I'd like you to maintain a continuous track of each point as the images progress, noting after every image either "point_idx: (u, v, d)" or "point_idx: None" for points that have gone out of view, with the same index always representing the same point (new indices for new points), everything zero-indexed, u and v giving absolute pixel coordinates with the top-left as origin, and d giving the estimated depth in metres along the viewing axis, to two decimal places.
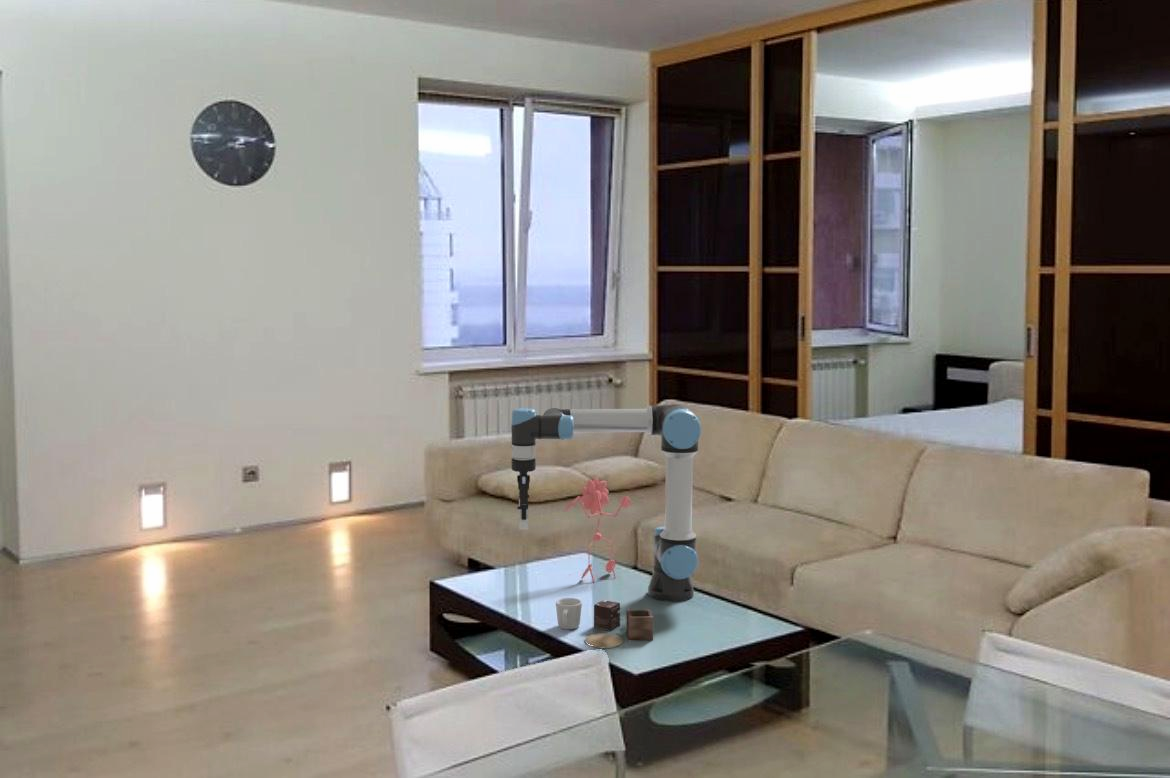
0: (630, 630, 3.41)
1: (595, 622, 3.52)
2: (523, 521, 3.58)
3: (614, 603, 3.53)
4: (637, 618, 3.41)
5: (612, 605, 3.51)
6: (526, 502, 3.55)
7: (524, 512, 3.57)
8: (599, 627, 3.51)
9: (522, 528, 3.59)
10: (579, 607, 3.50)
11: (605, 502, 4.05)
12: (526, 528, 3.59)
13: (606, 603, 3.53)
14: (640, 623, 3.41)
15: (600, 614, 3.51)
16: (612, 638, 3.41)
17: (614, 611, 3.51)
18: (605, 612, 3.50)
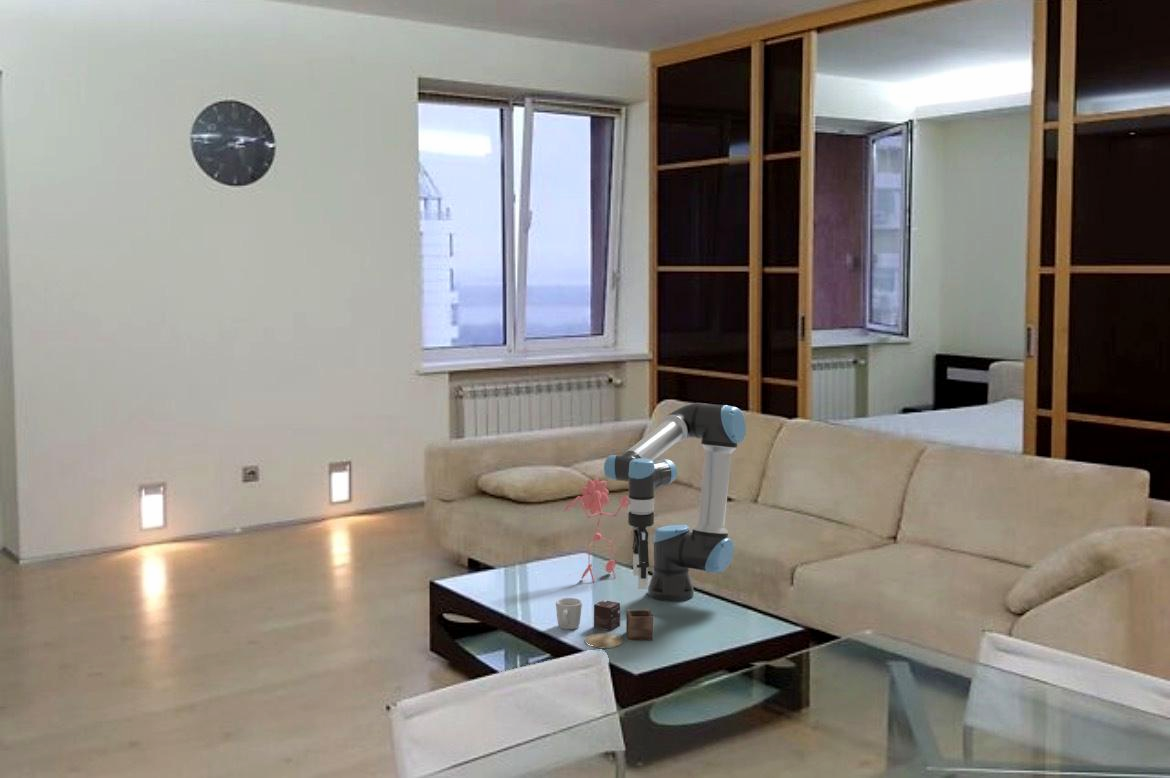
0: (630, 630, 3.41)
1: (595, 622, 3.52)
2: (642, 580, 3.36)
3: (614, 603, 3.53)
4: (637, 618, 3.41)
5: (612, 605, 3.51)
6: (647, 560, 3.33)
7: (644, 570, 3.34)
8: (599, 627, 3.51)
9: (641, 587, 3.36)
10: (579, 607, 3.50)
11: (605, 502, 4.05)
12: (646, 588, 3.36)
13: (606, 603, 3.53)
14: (640, 623, 3.41)
15: (600, 614, 3.51)
16: (612, 638, 3.41)
17: (614, 611, 3.51)
18: (605, 612, 3.50)
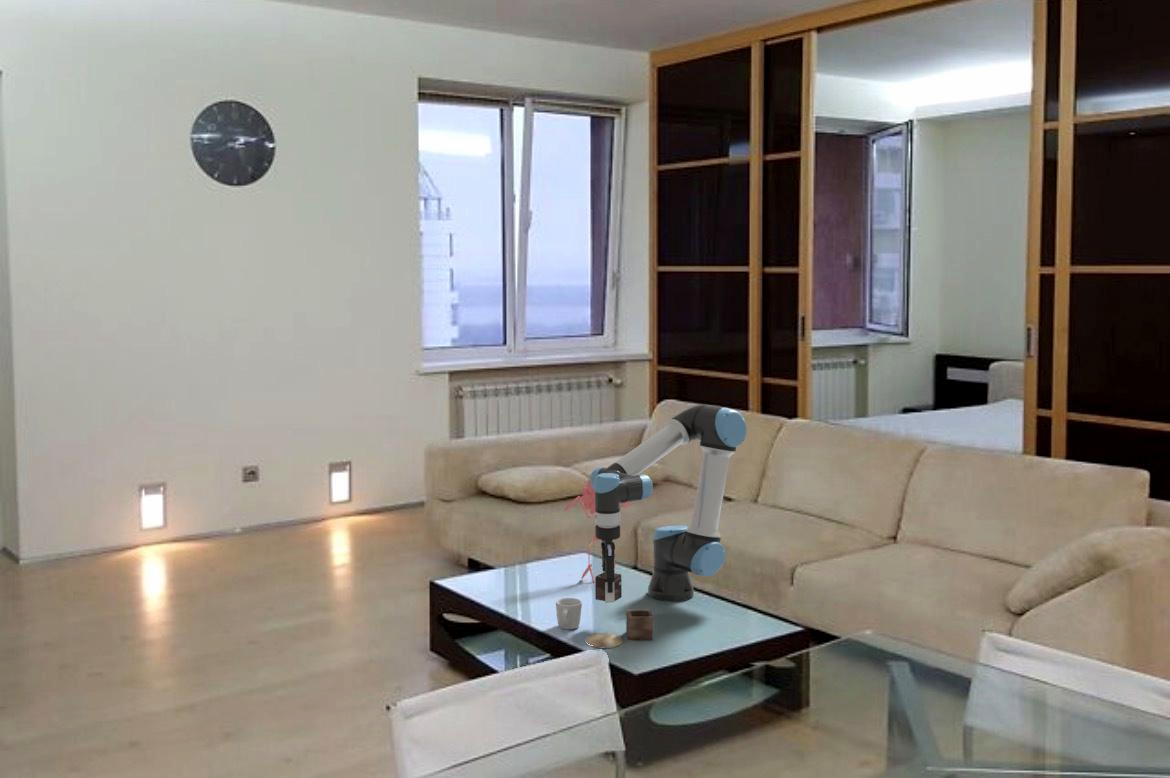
0: (630, 630, 3.41)
1: (597, 594, 3.51)
2: (609, 594, 3.48)
3: (615, 575, 3.52)
4: (637, 618, 3.41)
5: None
6: (613, 576, 3.44)
7: (610, 585, 3.46)
8: (601, 599, 3.51)
9: (608, 601, 3.48)
10: (579, 607, 3.50)
11: None
12: (613, 601, 3.48)
13: None
14: (640, 623, 3.41)
15: (602, 586, 3.50)
16: (612, 638, 3.41)
17: (615, 582, 3.50)
18: None
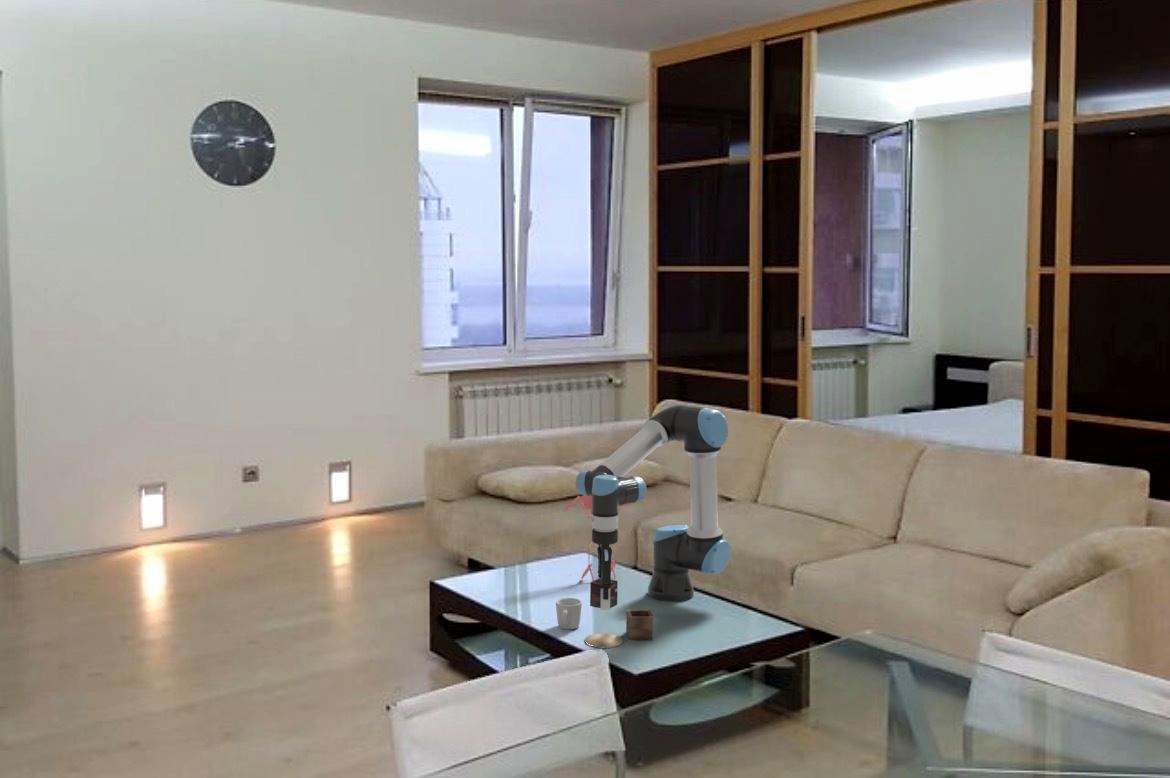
0: (630, 630, 3.41)
1: (591, 600, 3.38)
2: (605, 601, 3.34)
3: (611, 581, 3.38)
4: (637, 618, 3.41)
5: None
6: (609, 582, 3.31)
7: (606, 591, 3.33)
8: (595, 606, 3.37)
9: (604, 608, 3.34)
10: (579, 607, 3.50)
11: None
12: (608, 608, 3.34)
13: None
14: (640, 623, 3.41)
15: (597, 592, 3.36)
16: (612, 638, 3.41)
17: (611, 589, 3.36)
18: None
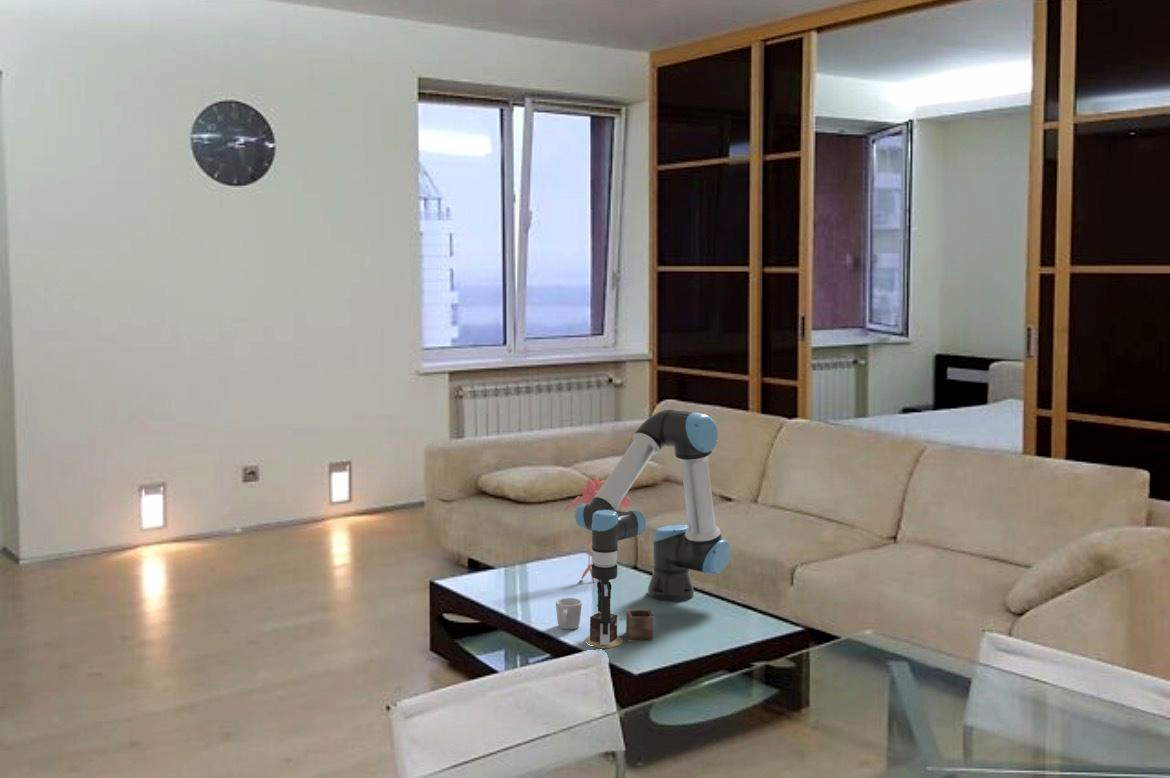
0: (630, 630, 3.41)
1: (591, 635, 3.39)
2: (604, 636, 3.35)
3: (611, 615, 3.40)
4: (637, 618, 3.41)
5: None
6: (608, 617, 3.32)
7: (606, 626, 3.34)
8: (595, 640, 3.38)
9: (603, 643, 3.36)
10: (579, 607, 3.50)
11: None
12: (608, 643, 3.36)
13: None
14: (640, 623, 3.41)
15: (597, 626, 3.38)
16: None
17: (610, 623, 3.38)
18: None
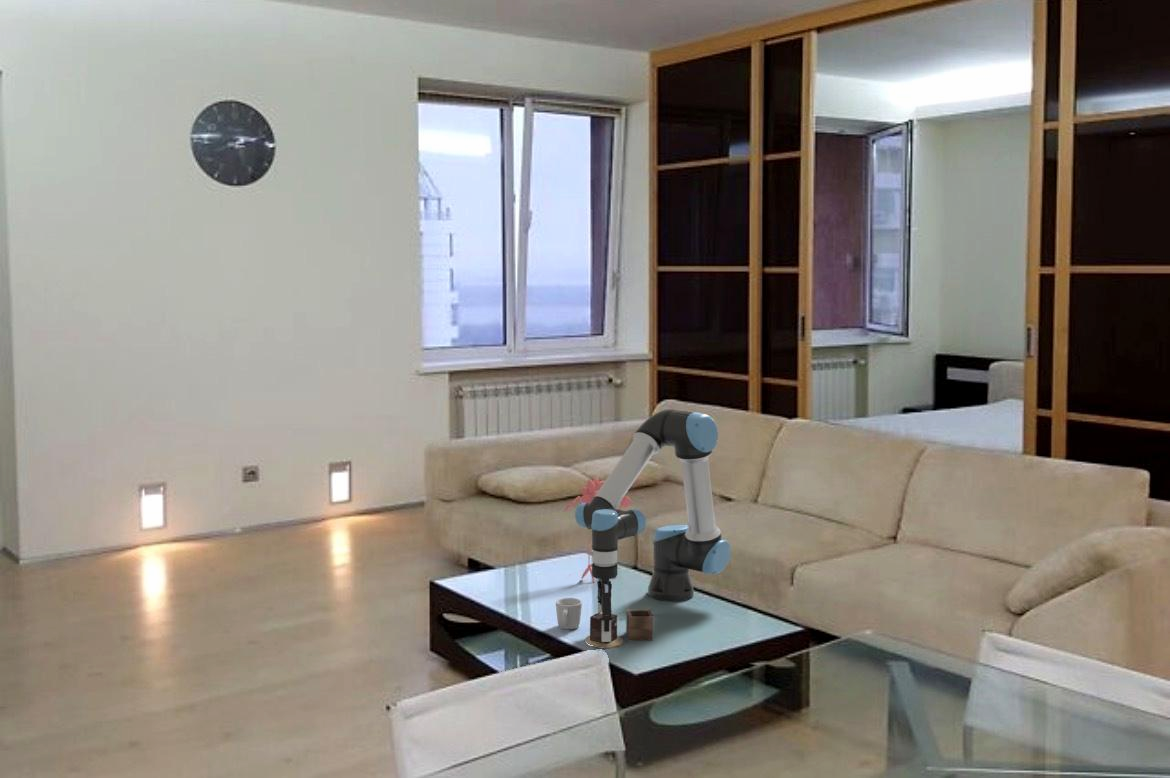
0: (630, 630, 3.41)
1: (591, 635, 3.39)
2: (606, 633, 3.33)
3: None
4: (637, 618, 3.41)
5: None
6: (610, 613, 3.30)
7: (607, 623, 3.31)
8: (595, 640, 3.38)
9: (605, 640, 3.33)
10: (579, 607, 3.50)
11: None
12: (609, 640, 3.33)
13: None
14: (640, 623, 3.41)
15: (597, 626, 3.38)
16: None
17: None
18: (601, 624, 3.37)
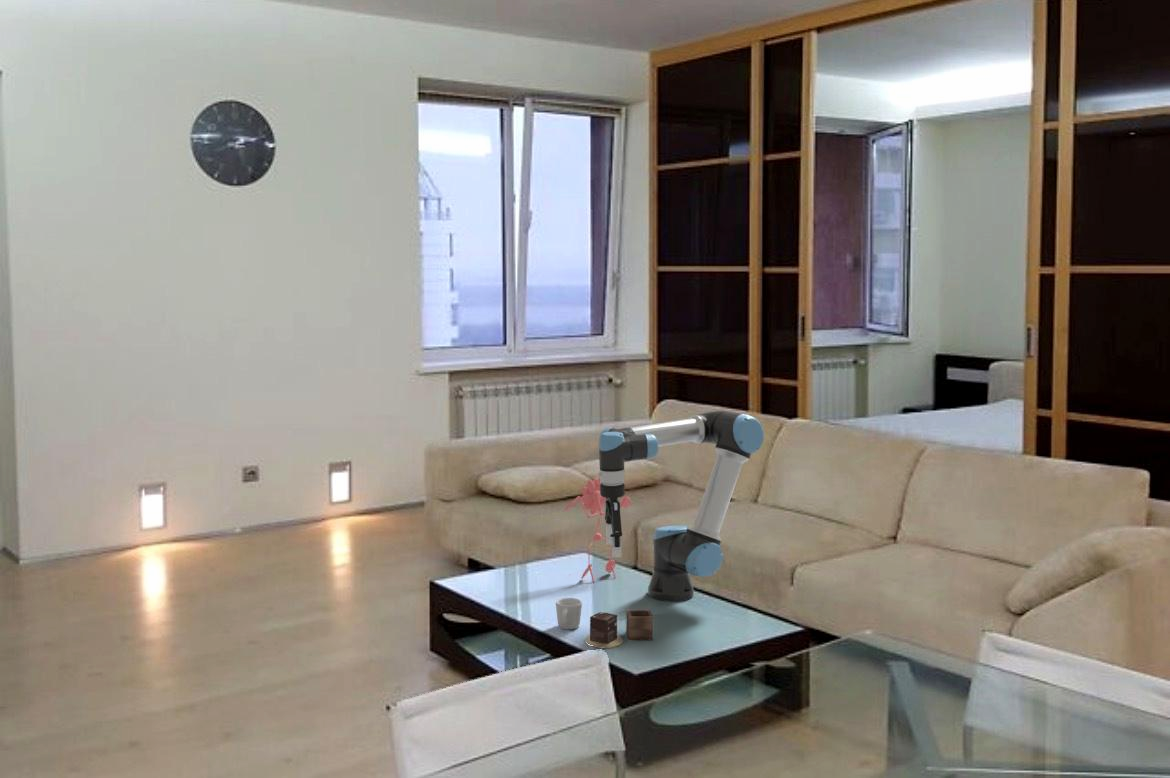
0: (630, 630, 3.41)
1: (591, 635, 3.39)
2: (616, 548, 3.48)
3: (611, 615, 3.40)
4: (637, 618, 3.41)
5: (609, 617, 3.38)
6: (620, 529, 3.45)
7: (617, 539, 3.46)
8: (595, 640, 3.38)
9: (615, 556, 3.48)
10: (579, 607, 3.50)
11: (605, 502, 4.05)
12: (620, 556, 3.48)
13: (603, 615, 3.40)
14: (640, 623, 3.41)
15: (597, 626, 3.38)
16: None
17: (610, 623, 3.38)
18: (601, 624, 3.37)
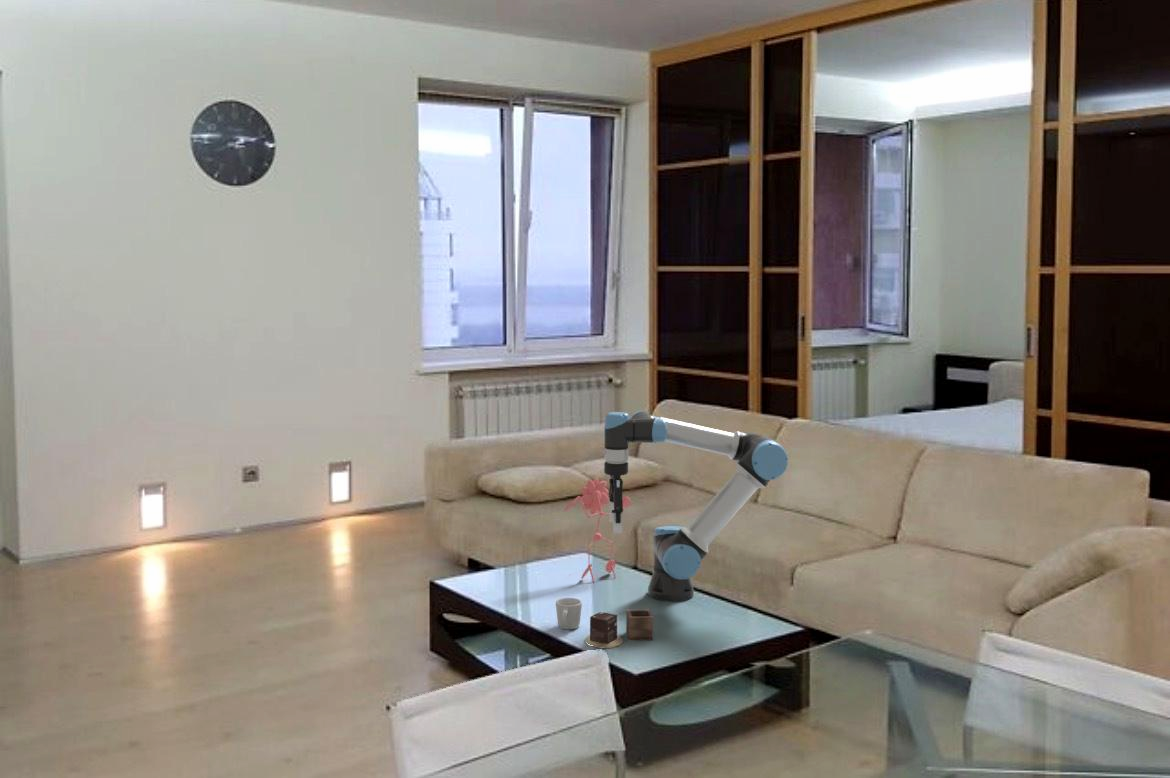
0: (630, 630, 3.41)
1: (591, 635, 3.39)
2: (617, 524, 3.60)
3: (611, 615, 3.40)
4: (637, 618, 3.41)
5: (609, 617, 3.38)
6: (621, 505, 3.57)
7: (618, 515, 3.58)
8: (595, 640, 3.38)
9: (616, 531, 3.60)
10: (579, 607, 3.50)
11: (605, 502, 4.05)
12: (620, 532, 3.60)
13: (603, 615, 3.40)
14: (640, 623, 3.41)
15: (597, 626, 3.38)
16: None
17: (610, 623, 3.38)
18: (601, 624, 3.37)
